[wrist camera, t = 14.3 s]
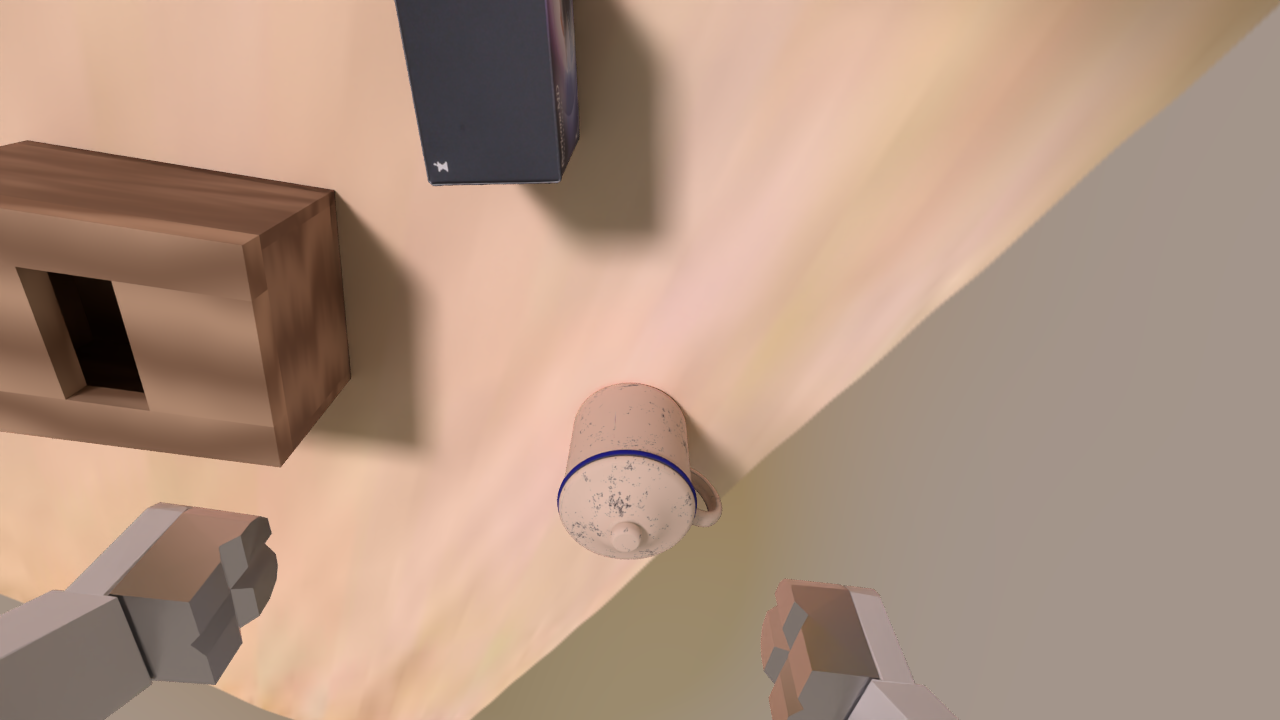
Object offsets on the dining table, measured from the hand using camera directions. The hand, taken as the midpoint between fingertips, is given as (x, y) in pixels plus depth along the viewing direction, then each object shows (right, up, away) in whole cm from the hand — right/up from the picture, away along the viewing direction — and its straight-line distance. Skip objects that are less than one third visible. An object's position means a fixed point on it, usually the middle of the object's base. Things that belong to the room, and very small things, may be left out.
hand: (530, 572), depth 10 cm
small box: (-5, +21, +24) cm, 32 cm away
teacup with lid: (+2, -2, +38) cm, 38 cm away
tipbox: (-27, +9, +31) cm, 42 cm away
